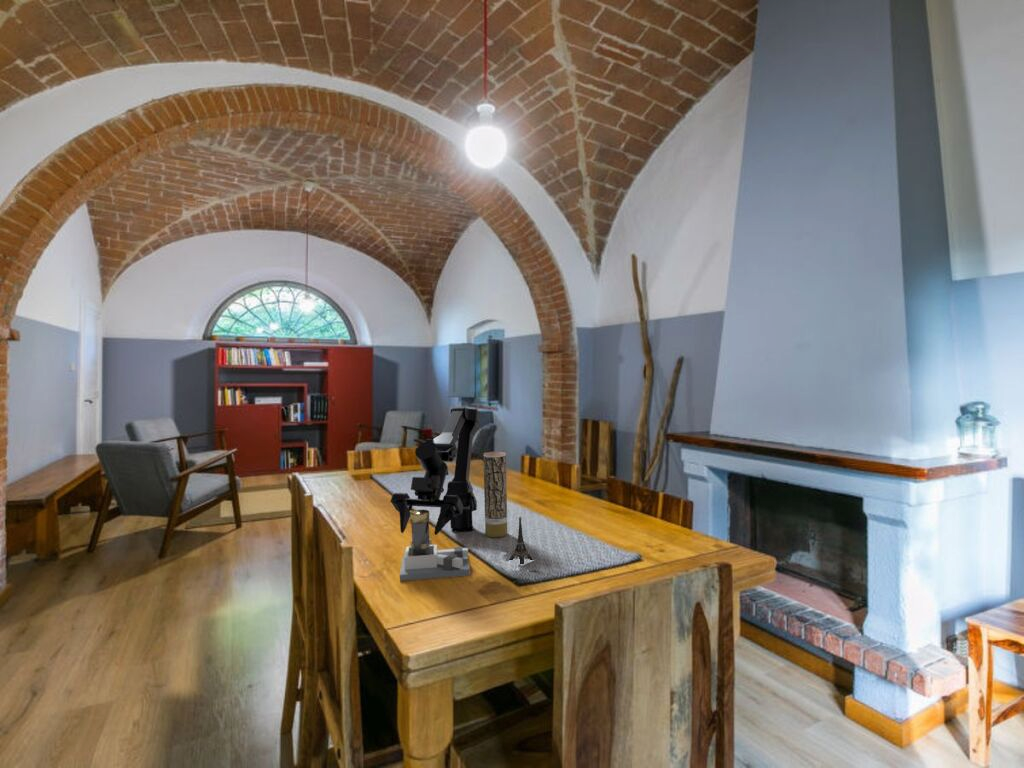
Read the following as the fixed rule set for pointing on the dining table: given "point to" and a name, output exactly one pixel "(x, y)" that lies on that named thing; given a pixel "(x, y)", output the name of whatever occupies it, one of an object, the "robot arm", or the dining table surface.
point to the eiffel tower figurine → (520, 547)
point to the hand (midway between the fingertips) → (418, 533)
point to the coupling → (420, 532)
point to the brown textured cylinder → (495, 494)
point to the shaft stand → (435, 564)
